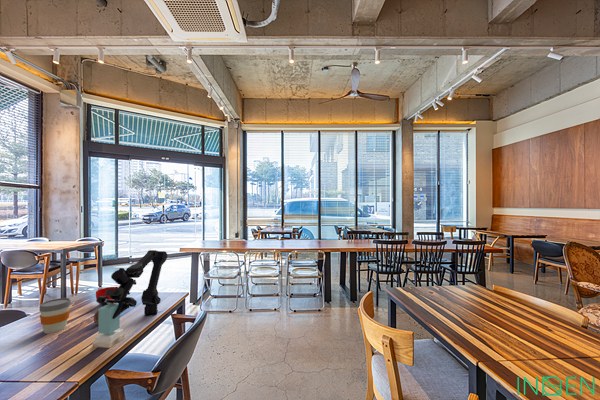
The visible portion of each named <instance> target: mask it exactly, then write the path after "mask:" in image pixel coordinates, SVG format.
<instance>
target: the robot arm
mask: <svg viewBox="0 0 600 400" xmlns="http://www.w3.org/2000/svg"><path fill="white" fill-rule="evenodd" d="M167 258H168V253H167V252H166V251H162V250H160V251H159V250H156V249H155V250H154V249H150V250H147V252H146V253H145V255H144V256H142V257H141V258H140V260H138V261H137V262H136V263H135V264H131V265H130V266H128V267H127V268H126V269H125V268H124V267H119V268H118V269H117V270H116V271H115V270H114V272H113V273H112V274H111V279H112V280H113V282H115V283H116V284H117V285H119V286H117V287H118V288H115V289H107V290H106V293H105V296H100V297H98V298H97V299H96V300H95V302H96V303H98V304H99V305H100V304H101V305H102V306H101V305H100V306H101V307H104V306H106V305H108V304H111V303H113V304H118V308H117V310H116V312H115V313H114V315H113V318H112V319H115V318H116V317H117V316H118V315H121V314H122V313H123V312H125V311H126V310H127V309H130V308H135V307H136V306H137V304H138V303H137V302H138V301H137V300H136V299H135V298H133V297H130V294H131V292H130V291H131V289H132V287H133V286H135V285H137V280H136V279H138V278H140V277H141V275H143V273H144V269H145V267H146V266H147V265H148V264H149V263H150V262H152V264H153V265H152V270H151V272H150V273H151V274H150V278H149V281H148V282H149V283H148V284H147V288H146V289H144V290H143V291H142V294H141V299H140V300H141V302H142V306H144V317H148V316H149V317H150V316H155V315H157V314H158V311H159V310H158V305H160V303H161V298H160V297H159V291H158V288H157V287H158V284H159V280H160V274H161V272H162V267H163V266H162V265H164V264H165V263H166V262H167ZM107 295H108V296H110V298H112V299H109V298H108V297H106V296H107ZM128 295H129V296H128ZM127 296H128V297H127Z"/></svg>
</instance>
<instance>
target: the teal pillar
mask: <svg viewBox="0 0 600 400" xmlns="http://www.w3.org/2000/svg"><path fill="white" fill-rule="evenodd" d="M117 308H118V303H113V304H108V305H106V306H104V307H102V306H101V307H100V308H98V310H99V324H98V330H97V331H98V334H101V333H102V334H110V333H112V332H114V331H115V330H117V329H120V322H121V320H120V317H121V316H120V315H121V314H120V315H118V316H117V317H116V318H115V319H112V318H113V315H114V313H115V312H116V310H117Z"/></svg>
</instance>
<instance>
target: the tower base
mask: <svg viewBox="0 0 600 400" xmlns="http://www.w3.org/2000/svg"><path fill="white" fill-rule="evenodd" d="M123 339H125V333H123V335H121V336H120V337H118V338H117V339H116V340H114V341H113V342H111V343H105V342H95V341H93V342H92V347H93V348H106V349H107V348H108V349H110V348H112V347H113V346H114V345H117V344H118V343H119V342H121V341H123Z"/></svg>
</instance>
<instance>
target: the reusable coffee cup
mask: <svg viewBox="0 0 600 400" xmlns="http://www.w3.org/2000/svg"><path fill="white" fill-rule="evenodd" d="M71 304H72V302H71V298H68V297H62V298H54V299H49V300H46V301H44V302H42V303H40V305H39V308H38V309H39V312H40V314H39V319H40V324H41V325H42V331H43V334H53V333H57V332H60V331H62V330H65V329H66V328H67V325H68V319H69V317H70V312H71V308H70V307H71Z"/></svg>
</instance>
